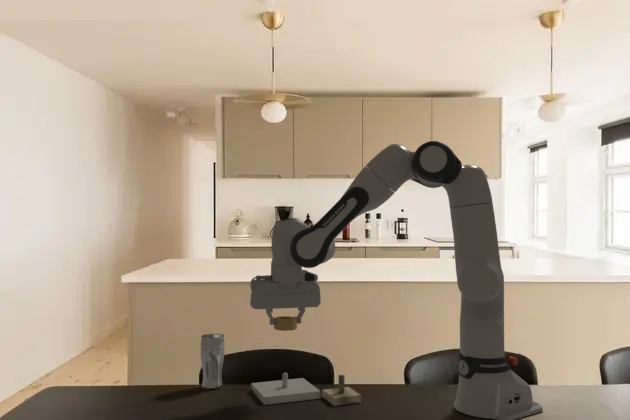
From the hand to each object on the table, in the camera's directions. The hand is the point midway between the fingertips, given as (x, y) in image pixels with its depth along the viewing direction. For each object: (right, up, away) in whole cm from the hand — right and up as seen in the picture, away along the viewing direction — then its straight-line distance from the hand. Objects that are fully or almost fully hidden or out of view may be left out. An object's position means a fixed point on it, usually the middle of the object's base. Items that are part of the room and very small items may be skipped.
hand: (285, 324), depth 147 cm
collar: (0, -1, 0) cm, 1 cm away
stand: (+16, -19, -6) cm, 26 cm away
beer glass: (-22, -20, +6) cm, 30 cm away
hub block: (0, -20, -1) cm, 20 cm away
